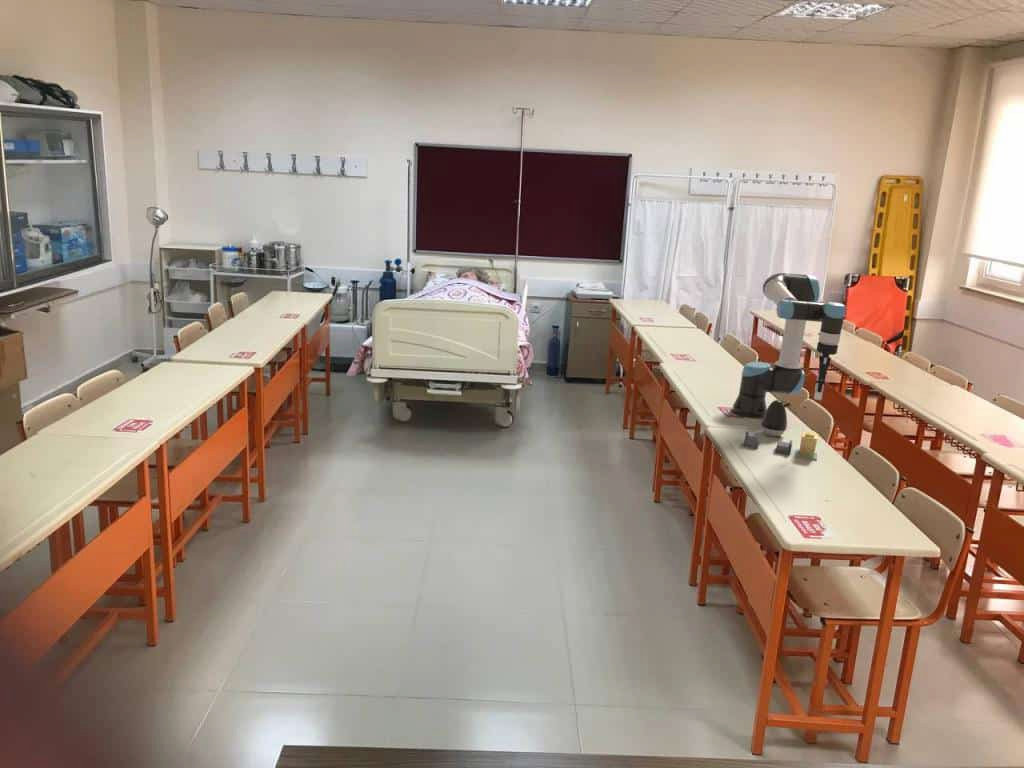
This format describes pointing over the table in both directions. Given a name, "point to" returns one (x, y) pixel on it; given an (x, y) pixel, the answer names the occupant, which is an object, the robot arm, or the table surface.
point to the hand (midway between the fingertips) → (817, 394)
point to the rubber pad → (806, 457)
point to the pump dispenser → (775, 419)
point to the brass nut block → (808, 444)
